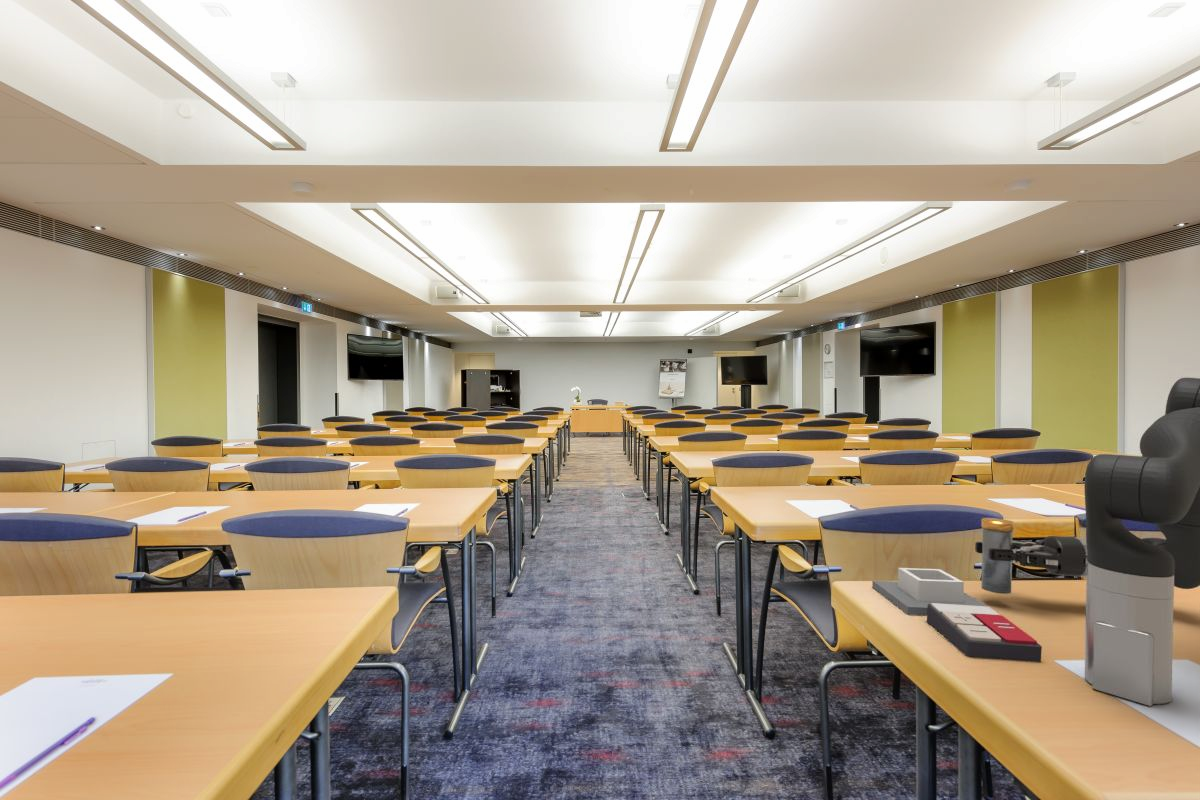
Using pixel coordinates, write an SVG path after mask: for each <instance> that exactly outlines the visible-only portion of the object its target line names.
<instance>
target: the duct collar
mask: <svg viewBox="0 0 1200 800" xmlns="http://www.w3.org/2000/svg"><path fill="white" fill-rule="evenodd" d="M964 583H965V581H963V580H961V579H959V578H958V577H955V576H953V575H951V574H950V573H948V572H946V571H945V570H942V569H940V568H916V567H915V568H914V567H911V568H910V567H897V581H893V580H872V585H871V586H872V589H873V590H875V591H876V592H878V593H879V594H880V595H882V596H883V597H884V598H885V599H886V600H888V601H889V602H890V603H892V604H893V605H894V606H896V607H897V608H898V609H899V610H901V611H902V612H903V613H904V614H906V615H908V616H926V617H927V607H928V604H931V603H939V604H955V605H971V606H986V607H989V606H988V605H987V604H985V603H983V602H982V601H980V600H977V599H976V598H975V597H973V596H971V595H969V594H968V593H965V592H964V591H965V590H964V588H965V586H964V585H965V584H964ZM990 608H991V609H993V610H994V611H996V610H995V609H994V608H992V607H990Z"/></svg>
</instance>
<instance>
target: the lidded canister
mask: <svg viewBox="0 0 1200 800" xmlns="http://www.w3.org/2000/svg"><path fill="white" fill-rule="evenodd" d="M981 528H982V535H981V539H982V541H981V542H982V553H981V583H980V585H981V589H982V590H985V591H987V592H990V593H994V594H1000V595H1001V594H1003V595H1009V594H1012V577H1013V576H1012V575H1013V572H1012V571H1013V562H1011V561H997V560H991V559H989V558H988V550H989V549H990V548H995V549H1009V550H1011V552H1012V540H1013V532H1014V531H1015V522H1014V521H1012V520H1009V519H1003V518H995V517H994V518H993V517H981Z"/></svg>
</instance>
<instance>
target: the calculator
mask: <svg viewBox="0 0 1200 800" xmlns="http://www.w3.org/2000/svg"><path fill="white" fill-rule="evenodd" d="M991 608H992V607H990V606H988V607H986V606H971V605H955V604H939V603H931V604H928V607H927V616H926V623H927V624H928V625H929V626H930V627H932V628H933V629H934V630H936V631H937V632H939V633H940V634H941V635H942V636H943V637H944V638H946V639H947V640H948V642H949V643H951V644H952V645H953V646H954V647H955V648H957V650H959V651H960V652H961V653H962V654H963V655H965V657H968V658H975V659H987V660H988V659H989V660H990V659H992V660H1002V661H1004V660H1005V661H1017V662H1019V661H1020V662H1021V661H1022V662H1032V663H1033V662H1034V663H1036V662H1037V663H1041V661H1042V649H1043V646H1042V645H1041V644H1040V643H1038V641H1037V640H1036V639H1035V638H1034V637H1032V636H1031V635H1030V634H1028V633H1027V632H1025V631H1024V630H1023V629H1021V628H1020V627H1019V626H1017V625H1016V624H1014V623H1013V622H1012V621H1010V620H1009V619H1008V618H1007V617H1005V616H1004V615H1002V614H1000V613H999V612H997V611H996V610H995V609H994V608H992V609H991ZM993 609H994V610H995V611H994V610H993Z"/></svg>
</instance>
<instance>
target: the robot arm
mask: <svg viewBox="0 0 1200 800" xmlns="http://www.w3.org/2000/svg"><path fill="white" fill-rule="evenodd" d="M1164 413H1165V414H1163V415H1162V416H1160V417H1159V418H1158V419H1156V420H1155V421H1154V422H1152V424H1151V425H1150V426H1149V427H1148V428H1147V429H1146V430H1145V431H1144V432H1143V434H1142V435H1141V438H1140V440H1139V451H1140V454H1141V456H1140V455H1139V456H1138V455H1127V454H1125V455H1124V454H1107V453H1105V454H1102V453H1100V454H1096V455H1095V456H1093V457H1092V458H1091V459H1090V460H1089V462H1088V463H1087V465H1086V469H1085V474H1084V503H1085V504H1084V505H1085V506H1084V507H1085V508H1084V509H1085V525H1086V526H1085V537H1076V536H1062V535H1061V536H1058V535H1048V536H1046V537H1045V538H1044V539H1043V540H1042V542H1041V544H1037V542H1032V541H1026V542H1025V541H1024V542H1023V541H1022V540H1020V539H1017V540H1015V539H1012V552H1011V550H1009V549H995V548H990V549H989V550H988V558H989V559H991V560H997V561H1011V562H1012V564H1019V566H1022V567H1032V568H1039V569H1041V568H1042V569H1046V571H1047V572H1049V573H1050V574H1051V575H1055V576H1067V577H1069V576H1070V577H1080V578H1081V577H1084V578H1086V588H1085V589H1086V591H1085V592H1086V595H1085V599H1086V600H1085V629H1084V630H1085V637H1084V638H1085V639H1084V640H1085V641H1084V642H1085V643H1084V679H1085V680H1086V682H1088V683H1089V684H1091V688H1092V689H1093V690H1097V691H1100V692H1103V693H1107V694H1110V695H1113V696H1117V697H1120V698H1123V699H1126V700H1129V701H1133V702H1137V703H1139V704H1142V705H1146V706H1149V707H1152V706H1153V705H1157V704H1161V705H1162V704H1167V703H1170V702H1171V701H1172V698H1173V697H1172V696H1173V693H1172V692H1173V650H1174V649H1173V645H1174V644H1173V642H1174V636H1173V635H1174V604H1175V603H1174V598H1175V588H1178V589H1183V590H1191V589H1196V588H1198V587H1200V378H1199V377H1181V378H1179V379H1178V380H1176V381H1175V382H1174V383H1173V385H1172V386H1171V389H1170V391H1169V393H1168V396H1167V400H1166V405H1165V412H1164ZM1122 520H1125V521H1130V522H1131V521H1132V522H1139V523H1146V524H1147V523H1148V524H1151V525H1152V524H1153V525H1155V526H1156V527H1157V529H1158V530H1159V531H1160V532H1161V533H1162V534H1163V536H1164V537H1165V538H1160V537H1159V538H1158V537H1143V538H1140V537H1139V536H1136V535H1135V534H1133V533H1132V531H1130V530H1128V529H1127V528H1126V527H1125V526H1124V523H1123V522H1122ZM974 545H975V546H974V547H975V550H974V551H975V553H978V554H982V541H976V542H975V544H974Z"/></svg>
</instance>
